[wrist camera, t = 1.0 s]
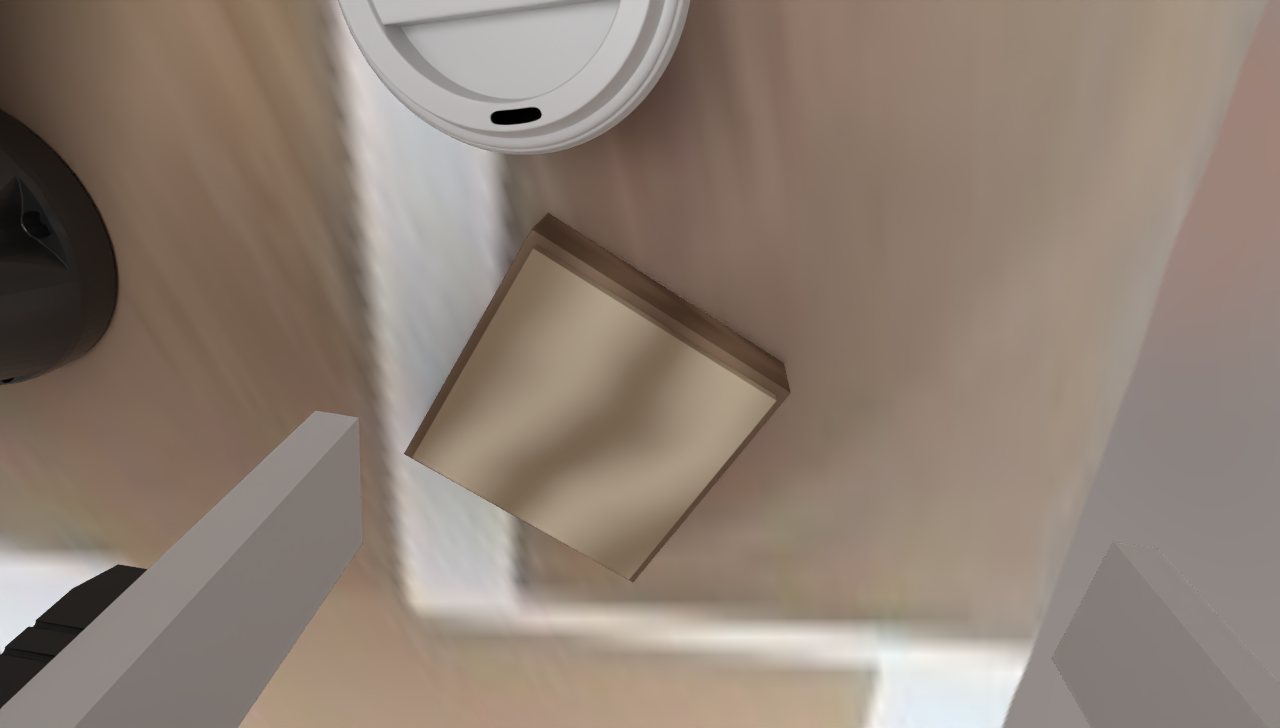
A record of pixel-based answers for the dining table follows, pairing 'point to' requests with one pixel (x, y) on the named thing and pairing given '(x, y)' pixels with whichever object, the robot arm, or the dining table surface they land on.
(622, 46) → the coffee cup
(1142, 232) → the dining table surface
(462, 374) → the pedestal
